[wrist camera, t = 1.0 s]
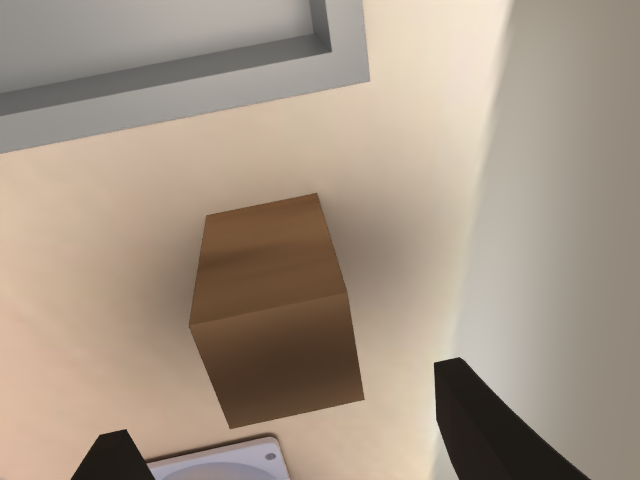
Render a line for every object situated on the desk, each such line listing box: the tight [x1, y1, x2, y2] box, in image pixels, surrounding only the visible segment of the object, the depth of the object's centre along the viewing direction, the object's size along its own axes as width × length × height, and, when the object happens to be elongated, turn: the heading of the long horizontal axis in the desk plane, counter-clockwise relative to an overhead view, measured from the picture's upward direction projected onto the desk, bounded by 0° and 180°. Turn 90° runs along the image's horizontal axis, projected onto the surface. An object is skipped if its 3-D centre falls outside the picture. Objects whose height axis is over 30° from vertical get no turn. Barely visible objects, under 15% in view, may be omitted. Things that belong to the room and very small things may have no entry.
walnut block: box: [189, 193, 365, 429], centre depth 15 cm, size 4×4×6 cm
